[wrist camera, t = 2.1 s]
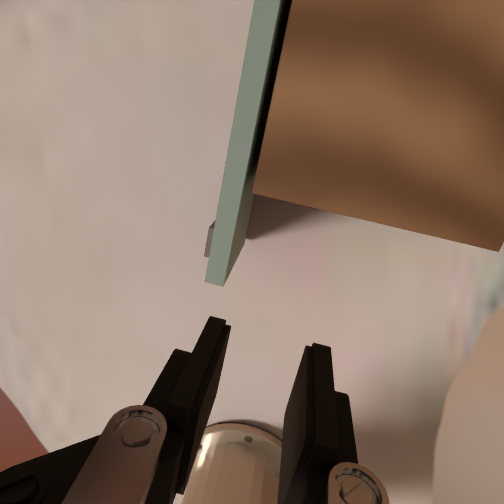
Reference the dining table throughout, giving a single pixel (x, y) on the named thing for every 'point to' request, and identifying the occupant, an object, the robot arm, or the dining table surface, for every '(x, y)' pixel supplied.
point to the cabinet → (392, 115)
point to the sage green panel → (246, 137)
